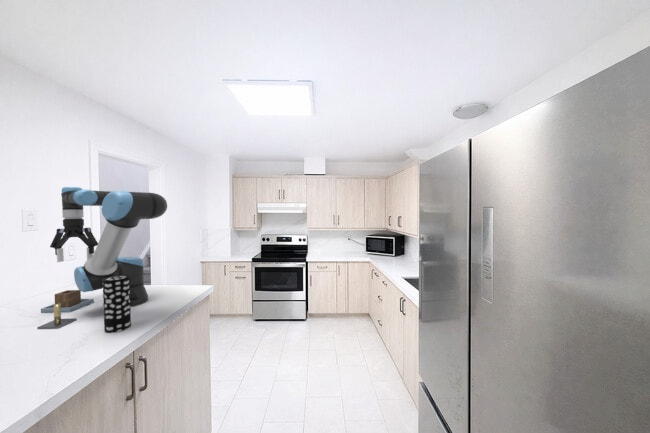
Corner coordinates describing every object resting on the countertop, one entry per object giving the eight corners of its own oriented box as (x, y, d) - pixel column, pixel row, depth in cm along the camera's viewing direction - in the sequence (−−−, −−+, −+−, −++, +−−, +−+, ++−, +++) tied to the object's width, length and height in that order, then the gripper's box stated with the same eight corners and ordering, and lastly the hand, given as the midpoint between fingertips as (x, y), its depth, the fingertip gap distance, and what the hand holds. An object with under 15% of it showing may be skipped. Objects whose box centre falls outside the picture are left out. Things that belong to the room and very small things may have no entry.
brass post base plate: (76, 320, 112) (75, 301, 112) (58, 328, 104) (57, 307, 104) (57, 320, 112) (56, 301, 112) (37, 329, 104) (36, 308, 104)
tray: (93, 302, 134) (93, 298, 134) (69, 312, 121) (69, 308, 121) (67, 303, 134) (67, 299, 134) (40, 313, 121) (40, 308, 121)
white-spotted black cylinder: (129, 321, 110) (127, 274, 109) (132, 327, 104) (131, 277, 103) (103, 328, 104) (101, 278, 103) (105, 335, 98) (103, 282, 98)
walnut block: (81, 303, 131) (80, 289, 131) (68, 308, 124) (68, 294, 124) (67, 304, 130) (67, 290, 130) (55, 308, 124) (54, 294, 124)
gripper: (106, 217, 134) (107, 258, 135) (53, 219, 132) (55, 260, 132) (94, 217, 127) (96, 261, 127) (38, 219, 125) (40, 263, 125)
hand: (75, 261), depth 130 cm, fingers open, 13 cm apart
